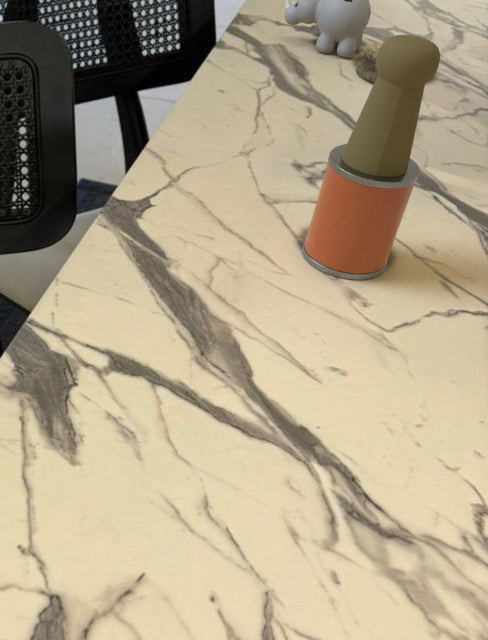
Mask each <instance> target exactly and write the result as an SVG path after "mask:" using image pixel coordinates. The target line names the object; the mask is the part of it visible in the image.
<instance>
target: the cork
mask: <svg viewBox="0 0 488 640" xmlns="http://www.w3.org/2000/svg"><path fill="white" fill-rule="evenodd" d="M383 42H384V43H383V44H382V45H381V47H380V49H379V51H378V54H377V58H376V69H377V72H378V76H377V78H376V80H375V82H373V85H372V87H371V89H370V91H369V94H368V96H367V98H366V100H365V103H364V105H363V107H362V109H361V112H360V114H359V116H358V118H357V120H356V123H355V124H354V127H353V129H352V132H351V133H350V136H349V137H348V140H347V142H346V144H347V145H346V147H345V149H344V151H343V154H342V159H343V161H344V162H345V163H346V164H347V165H348V166H350V167H352V168H354V169H355V170H358V171H361V172H363V173H366V174H371V175H375V176H384V177H391V176H399V175H402V174H404V173H405V172H407V169H408V165H409V160H410V158H411V155H412V149H413V145H414V140H415V135H416V130H417V126H418V121H419V117H420V116H419V115H420V112H421V111H420V110H421V107H422V106H421V105H422V101H423V97H424V92H425V86H426V84H427V83H428V82H429V81H431V80H432V79H433V78H434V76H435V75H436V73H437V71H438V69H439V66H440V61H441V53H440V48H439V46H438V45H436V43H435V42H433V41H431V40H429V39H427V38H424V37H421V36H417V35H411V34H397V35H393V36H390V37H388V38H387V39H385V40H384V41H383Z"/></svg>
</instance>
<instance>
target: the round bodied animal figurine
mask: <svg viewBox="0 0 488 640" xmlns="http://www.w3.org/2000/svg"><path fill="white" fill-rule="evenodd" d="M284 7H285V10H284V20H285V22H286V23H287V24H288V25H290V26H298V25H299V24H301V23H302V24H306V25H312V24H316V26H317V28H318V30H319V32H320V34H319V36H318V38H317V41H316V44H315V50H316V51H317V52H319V53H321V54H332V53H333V52H334V50H335V48H336V54H337V55H338V56H340V57H341V58H352V57H354V56H355V55H356V52H357V49H359V48H360V47H361V46H362V43H363V37H364V31H365V29H366V28H367V26H368V24H369V23H370V18H371V14H372V7H371V3H370V0H352V2H346V1H344V0H297V1H295V0H292V3H291V0H285V4H284Z"/></svg>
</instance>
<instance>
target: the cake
mask: <svg viewBox="0 0 488 640" xmlns="http://www.w3.org/2000/svg"><path fill="white" fill-rule="evenodd" d="M384 42H385V41H382V42H381V41H378V42H375V43H373V44H370V45H369V46H367V48H366V50H364V52H363V53H364V54H363V56H362V60H360V63H358V64H357V67H356V68H355V73H356V75H358V77H361V78H362V79H364V80H366V81H369V82H373V83H374V82H375V80H376V78H377V76H378V72H377V69H376V58H377V54H378V51H379V49H380V47H381V45H382V44H383V43H384Z"/></svg>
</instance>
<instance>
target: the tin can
mask: <svg viewBox="0 0 488 640" xmlns="http://www.w3.org/2000/svg"><path fill="white" fill-rule="evenodd" d="M346 145H347V143H344V144H343V143H342V144H340V145H337V146H335V147H334V148H332V149H331V150H330V152H329V155H328V159H327V165H326V169H325V172H324V175H323V179H322V182H321V186H320V189H319V193H318V196H317V199H316V203H315V206H314V210H313V213H312V216H311V220H310V222H309V223H310V224H309V227H308V230H307V234H306V237H305V240H304V241H303V244H302V247H301V255H302V257H303V258H304V260H305V261H306V262H307V263H308V264H309V265H310V266H312V267H313V268H315V269H316V270H318V271H320V272H322V273H324V274H327V275H330V276H333V277H335V278H340V279H344V280H345V279H346V280H355V281H362V280H370V279H374V278H377V277H379V276H381V275H382V274H383V273H384V272H385V270H386V268H387V265H388V260H389V256H390V254H391V251H392V247H393V246H394V242H395V239H396V236H397V233H398V231H399V228H400V225H401V223H402V220H403V218H404V214H405V212H406V209H407V207H408V203H409V201H410V197H411V194H412V192H413V189H414V187H415V183H416V182H417V181H418V179H419V176H420V172H421V170H420V166H419V165H418V164H417V162H416V161H415V160H414V159H412V158H411V157H410V160H409V165H408V169H407V172H405V173H404V174H402V175H399V176H391V177H384V176H375V175H371V174H366V173H363V172H361V171H358V170H355V169H354V168H352V167H350V166H348V165H347V164H346V163H345V162H344V161H343V159H342V154H343V151H344V149H345V147H346Z"/></svg>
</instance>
